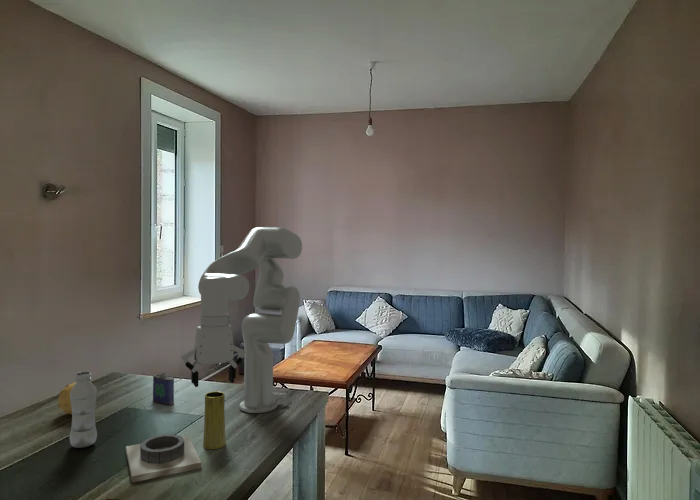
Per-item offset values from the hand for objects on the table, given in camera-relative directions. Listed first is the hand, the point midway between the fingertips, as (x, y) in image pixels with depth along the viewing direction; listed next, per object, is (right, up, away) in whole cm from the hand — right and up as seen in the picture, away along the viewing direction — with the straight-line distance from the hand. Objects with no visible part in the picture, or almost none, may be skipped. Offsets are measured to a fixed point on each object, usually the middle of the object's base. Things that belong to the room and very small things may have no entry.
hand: (213, 383), depth 137 cm
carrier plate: (-11, -18, -8) cm, 22 cm away
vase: (0, -18, +1) cm, 18 cm away
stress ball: (-50, -16, +22) cm, 57 cm away
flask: (-27, -16, +34) cm, 46 cm away
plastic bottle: (-35, -17, -1) cm, 39 cm away
